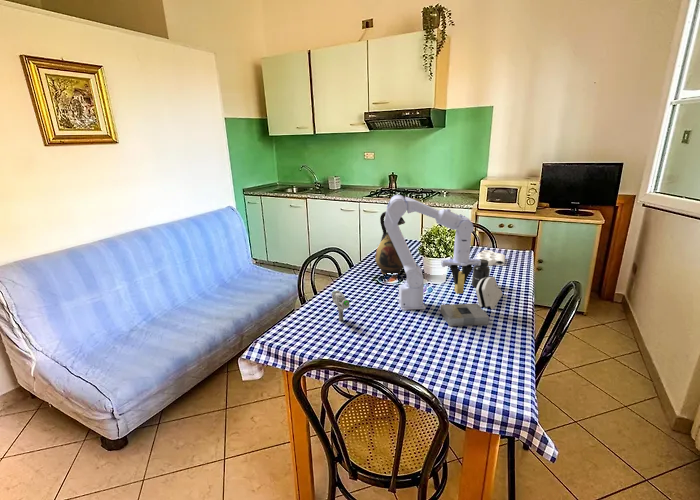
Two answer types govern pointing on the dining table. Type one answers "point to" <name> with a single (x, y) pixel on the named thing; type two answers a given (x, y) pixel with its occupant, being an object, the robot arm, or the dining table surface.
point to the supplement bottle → (480, 272)
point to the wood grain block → (460, 283)
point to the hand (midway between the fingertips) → (459, 283)
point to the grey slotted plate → (464, 314)
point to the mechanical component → (340, 302)
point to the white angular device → (488, 292)
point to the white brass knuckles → (491, 257)
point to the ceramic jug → (388, 252)
